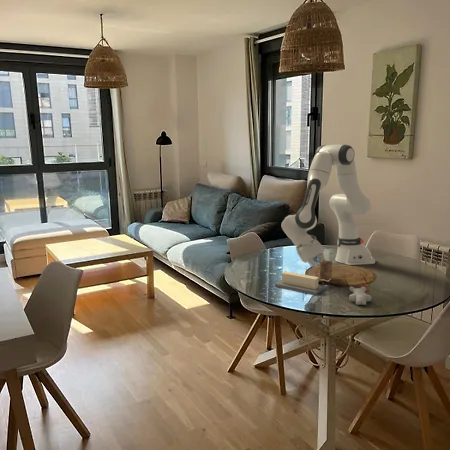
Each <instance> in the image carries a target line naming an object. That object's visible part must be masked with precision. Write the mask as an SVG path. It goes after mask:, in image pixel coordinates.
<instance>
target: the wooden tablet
mask: <svg viewBox="0 0 450 450" xmlns="http://www.w3.org/2000/svg"><path fill="white" fill-rule="evenodd" d="M350 287H351V286H350ZM350 287H349V288H350ZM352 287H354V288H361V287H365V288H366V291H365V293H369V292H370V291H371V289H370V287H369V285H368V283H367V284H366V283H362V284H359V285H354V286H352Z"/></svg>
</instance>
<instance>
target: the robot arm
mask: <svg viewBox="0 0 450 450" xmlns="http://www.w3.org/2000/svg"><path fill="white" fill-rule="evenodd" d="M332 166H335V178H336V185H337V187H338V189H339V190H340V191H342V193H335V194H333V195H332V196H331V197H330V199H329V202H328V203H329V207H330V209H331V210H332V211H333V213H334V214H335V217H336V218H337V222H338V223H337V224H338V235H337V244H336V245H337V250H336V255H335V258H334V260H335V261H336V262H338V263H341V264H345V265H349V266H357V265H359V266H360V265H374V264H375V263H376V260H375V258H374V257H373V256H372V252H371V251H370V249H369V248H368V247H366V246H365V245H364V239H363V238H361V237H359V223H358V222H357V220H356V219H354V217H353V215H354V216H366V215H368V214H369V213H370V211H371V209H372V203H371V200H370V199H369V198H368V197H367V196H366V195H365V193H363V191H362V190H361V188H360V185H359V182H358V176H357V167H356V162H355V150H354V148H353V147H352V146H351V145H349V144H338V143H337V144H336V143H335V144H324V145H320V146H318V147H317V148H316V149H315V153H314V157H313V159H312V161H311V163H310V166H309V167H310V168H309V170H308V174H307V183H306V185H307V187H306V191H305V194H304V199H303V202H302V204H301V206H300V208H299V209H298V210H297V212H296V214H288V215H287V216H285V217H284V219H283V220H281V221H282V222H281V223H280V224H281V229H282V231H283V232H284V234H286V236H287V237H288V238H289V239H290V240H291V242H292V244H293V245H294V246H295V250H296V254H297V255H298V257H299V258H300V259H301V261H302V262H304V263H310V264H311V265H313V267H314V268H317V267H318V266H319V263H318V262H317V261H315V260H314V259H315V258H316V257H318V258H320V262H322V261H324V260H325V261H327V259H326V258H325V256H324V254H323V253H324V252H325V248H324V246H322V244H321V242H319V241H318V240H317V237H316V236H315V235H311V234H308V233H307V232H308V231H311V230H312V229H314V228H315V227H316V225H317V222H318V219H317V215H316V212H315V208H316V204H317V202H318V197H319V194H320V193H321V191H322V190H323V189H325V188H326V186H327V185H328V182H329V180H330V177H331V172H332V169H333V168H332Z"/></svg>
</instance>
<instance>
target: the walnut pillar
mask: <svg viewBox="0 0 450 450" xmlns="http://www.w3.org/2000/svg"><path fill="white" fill-rule="evenodd" d="M319 264H320V266H319V269H320V272H319V280H320V279H325V280H329V279H330V278H332V274H333V273H332V271H333V261H330V260H326V261H325V260H324V261H320V263H319Z"/></svg>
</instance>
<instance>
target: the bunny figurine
mask: <svg viewBox="0 0 450 450" xmlns="http://www.w3.org/2000/svg"><path fill="white" fill-rule="evenodd" d="M348 290H349V291H350V292H352V294H349V296H348V297H349V298H348V300H349V301H352V302H355V305H357V306H358V305H362V306H363V305H364V306H366V305H367V302H371V301H372V295H370V294H367V293H366V292H365V291H366V288H365V287H361V288H354V287H352V286H351V287H349V288H348Z"/></svg>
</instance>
